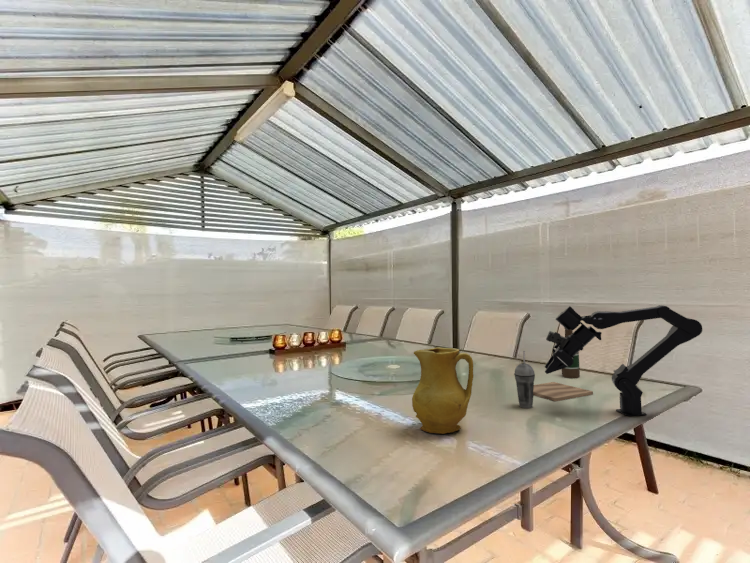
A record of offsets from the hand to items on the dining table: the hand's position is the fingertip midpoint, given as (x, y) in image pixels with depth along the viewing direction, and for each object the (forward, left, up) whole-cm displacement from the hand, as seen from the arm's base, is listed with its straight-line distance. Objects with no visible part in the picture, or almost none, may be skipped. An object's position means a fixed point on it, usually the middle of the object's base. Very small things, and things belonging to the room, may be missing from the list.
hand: (545, 370), depth 150 cm
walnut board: (+20, -12, -13) cm, 27 cm away
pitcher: (-16, +42, -14) cm, 47 cm away
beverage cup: (+3, +7, -14) cm, 15 cm away
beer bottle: (+46, -33, -14) cm, 59 cm away
